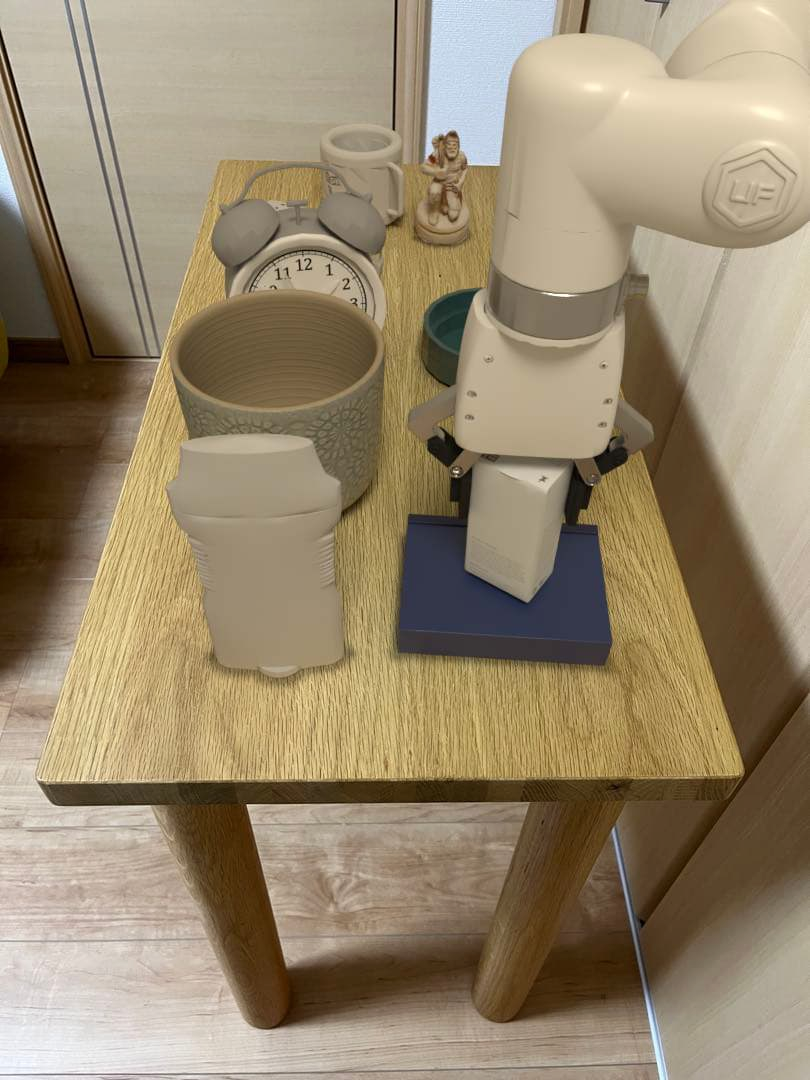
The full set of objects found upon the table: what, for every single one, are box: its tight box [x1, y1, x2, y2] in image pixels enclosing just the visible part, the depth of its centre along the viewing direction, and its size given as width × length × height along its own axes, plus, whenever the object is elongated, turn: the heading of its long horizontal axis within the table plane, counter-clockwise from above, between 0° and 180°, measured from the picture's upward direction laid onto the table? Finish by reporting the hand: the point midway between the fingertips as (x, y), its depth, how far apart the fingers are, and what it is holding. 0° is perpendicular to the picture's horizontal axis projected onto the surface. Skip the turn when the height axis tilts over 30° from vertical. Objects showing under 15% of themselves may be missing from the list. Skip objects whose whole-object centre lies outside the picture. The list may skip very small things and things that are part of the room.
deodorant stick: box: [164, 434, 345, 679], centre depth 55 cm, size 11×4×22 cm, turn 93°
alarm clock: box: [210, 161, 388, 333], centre depth 80 cm, size 16×9×22 cm, turn 102°
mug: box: [319, 123, 405, 226], centre depth 109 cm, size 14×11×10 cm
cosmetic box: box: [464, 453, 574, 603], centre depth 61 cm, size 6×4×12 cm
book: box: [397, 513, 613, 667], centre depth 66 cm, size 16×12×3 cm
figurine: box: [414, 129, 470, 246], centre depth 104 cm, size 7×7×15 cm
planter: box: [168, 289, 386, 513], centre depth 71 cm, size 17×17×15 cm
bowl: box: [421, 287, 484, 387], centre depth 89 cm, size 14×14×4 cm
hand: (516, 507), depth 60 cm, fingers closed on cosmetic box, 7 cm apart
